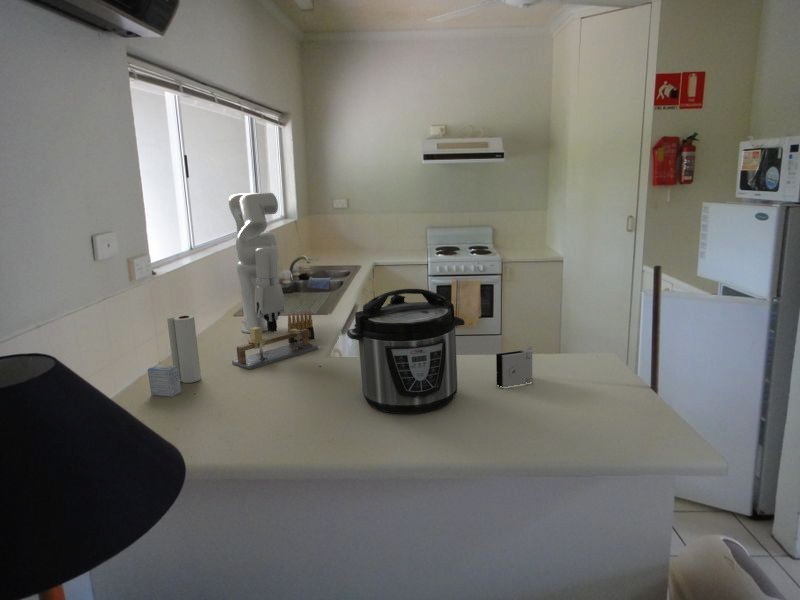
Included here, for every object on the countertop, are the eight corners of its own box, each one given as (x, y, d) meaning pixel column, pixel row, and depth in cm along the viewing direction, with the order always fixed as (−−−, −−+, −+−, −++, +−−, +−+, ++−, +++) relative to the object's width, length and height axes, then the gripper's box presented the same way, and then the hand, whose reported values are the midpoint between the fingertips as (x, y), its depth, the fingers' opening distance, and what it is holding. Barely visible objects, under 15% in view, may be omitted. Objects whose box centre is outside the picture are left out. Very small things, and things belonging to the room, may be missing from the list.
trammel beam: (238, 362, 200) (236, 343, 199) (306, 343, 222) (304, 326, 220) (244, 364, 198) (242, 345, 196) (312, 344, 219) (311, 327, 218)
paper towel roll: (205, 378, 189) (197, 315, 185) (191, 384, 183) (183, 319, 179) (188, 376, 192) (181, 314, 188) (175, 382, 186) (166, 318, 182)
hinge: (529, 376, 177) (530, 345, 175) (542, 381, 172) (542, 349, 170) (494, 386, 170) (494, 353, 168) (506, 391, 165) (506, 358, 163)
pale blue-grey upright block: (181, 392, 176) (178, 365, 175) (171, 397, 172) (168, 370, 171) (161, 390, 179) (157, 364, 177) (150, 395, 175) (147, 368, 173)
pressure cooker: (340, 414, 154) (332, 298, 148) (376, 379, 180) (370, 280, 174) (449, 423, 145) (446, 301, 138) (470, 385, 171) (468, 281, 165)
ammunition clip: (312, 337, 234) (310, 309, 232) (314, 338, 232) (312, 309, 230) (288, 342, 228) (285, 313, 226) (290, 343, 227) (287, 314, 224)
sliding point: (249, 357, 205) (246, 328, 203) (259, 354, 208) (256, 325, 205) (257, 359, 201) (255, 330, 199) (267, 356, 204) (264, 327, 202)
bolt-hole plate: (232, 363, 203) (231, 360, 203) (299, 344, 225) (299, 341, 224) (249, 369, 196) (249, 366, 196) (317, 348, 217) (317, 345, 217)
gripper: (279, 277, 212) (283, 325, 216) (244, 283, 202) (249, 334, 206) (291, 279, 207) (295, 328, 211) (256, 286, 197) (261, 337, 201)
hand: (272, 331), depth 208 cm, fingers closed
